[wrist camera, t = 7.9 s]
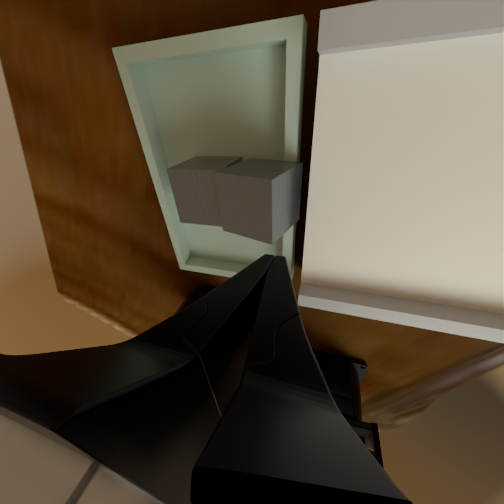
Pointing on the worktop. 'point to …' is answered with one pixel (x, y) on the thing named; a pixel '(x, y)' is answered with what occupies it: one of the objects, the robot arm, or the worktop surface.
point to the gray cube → (198, 188)
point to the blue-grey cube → (259, 198)
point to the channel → (409, 166)
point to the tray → (218, 120)
